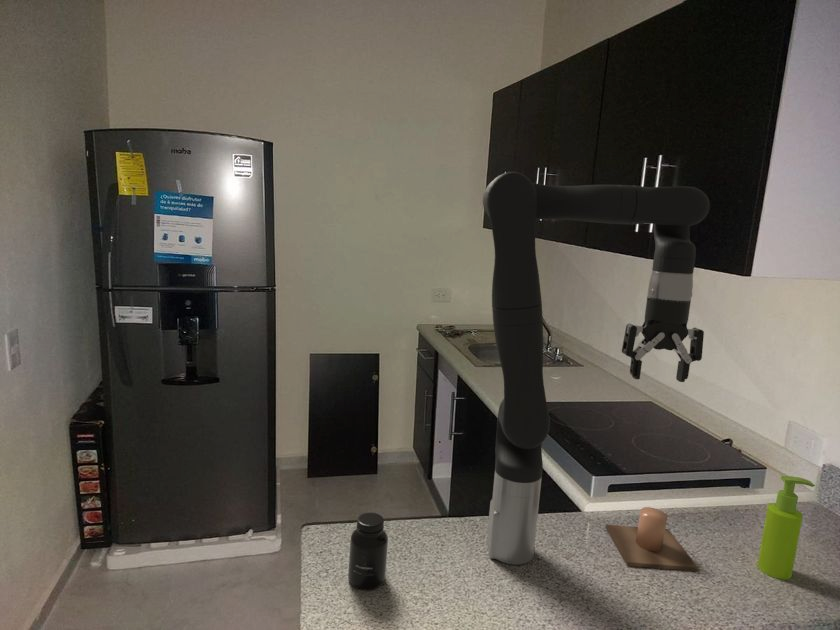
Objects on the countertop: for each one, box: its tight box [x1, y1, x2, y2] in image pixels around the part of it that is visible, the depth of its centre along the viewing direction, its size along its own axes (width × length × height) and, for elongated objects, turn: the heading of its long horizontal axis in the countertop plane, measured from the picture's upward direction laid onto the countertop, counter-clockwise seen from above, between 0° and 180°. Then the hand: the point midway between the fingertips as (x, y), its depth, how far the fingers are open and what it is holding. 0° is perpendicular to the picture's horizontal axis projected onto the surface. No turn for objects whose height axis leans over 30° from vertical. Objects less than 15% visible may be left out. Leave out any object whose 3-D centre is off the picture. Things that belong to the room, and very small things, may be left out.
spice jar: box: [636, 506, 668, 551], centre depth 116 cm, size 5×5×7 cm
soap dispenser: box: [757, 475, 816, 580], centre depth 109 cm, size 6×7×20 cm
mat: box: [605, 524, 699, 572], centre depth 116 cm, size 14×14×1 cm
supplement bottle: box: [347, 512, 389, 591], centre depth 99 cm, size 7×7×12 cm
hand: (657, 379), depth 105 cm, fingers open, 8 cm apart
